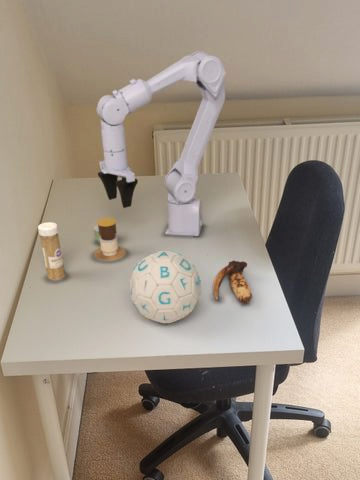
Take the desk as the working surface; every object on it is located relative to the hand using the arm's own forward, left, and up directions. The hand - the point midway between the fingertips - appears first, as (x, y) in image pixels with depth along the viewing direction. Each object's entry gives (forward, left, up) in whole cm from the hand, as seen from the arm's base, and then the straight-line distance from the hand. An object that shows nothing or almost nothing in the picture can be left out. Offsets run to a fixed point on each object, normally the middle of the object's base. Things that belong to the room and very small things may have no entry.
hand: (119, 202), depth 156 cm
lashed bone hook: (-33, +26, -11) cm, 43 cm away
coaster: (+1, +10, -10) cm, 14 cm away
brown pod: (+1, +10, -6) cm, 11 cm away
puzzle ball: (-20, +40, -11) cm, 46 cm away
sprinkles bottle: (+11, +24, -11) cm, 28 cm away
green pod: (+5, +2, -10) cm, 12 cm away
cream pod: (+1, +10, -10) cm, 14 cm away
